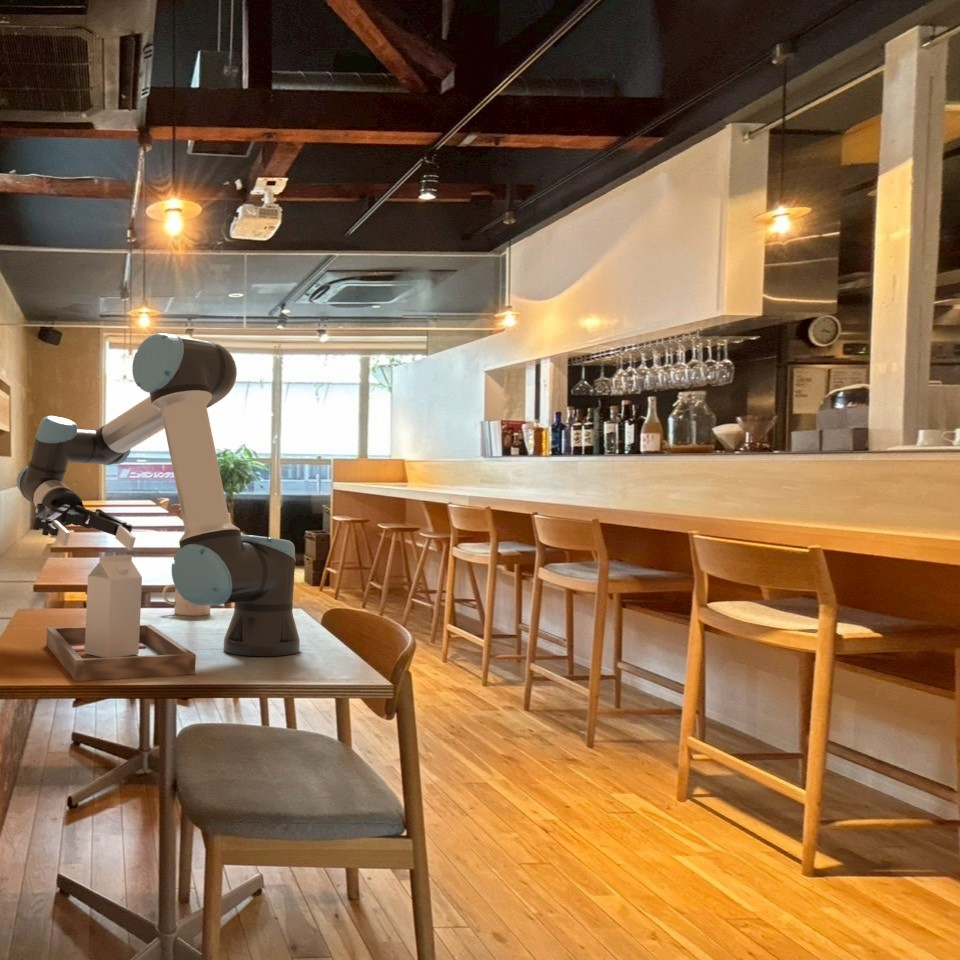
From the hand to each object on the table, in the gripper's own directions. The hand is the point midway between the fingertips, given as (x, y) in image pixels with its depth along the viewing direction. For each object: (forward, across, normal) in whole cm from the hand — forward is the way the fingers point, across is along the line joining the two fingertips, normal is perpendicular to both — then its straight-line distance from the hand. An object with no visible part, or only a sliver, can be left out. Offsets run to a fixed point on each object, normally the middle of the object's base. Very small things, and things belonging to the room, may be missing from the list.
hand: (100, 541), depth 202 cm
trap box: (+17, 0, -17) cm, 24 cm away
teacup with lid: (-27, -42, -28) cm, 57 cm away
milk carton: (+13, -2, -18) cm, 22 cm away
